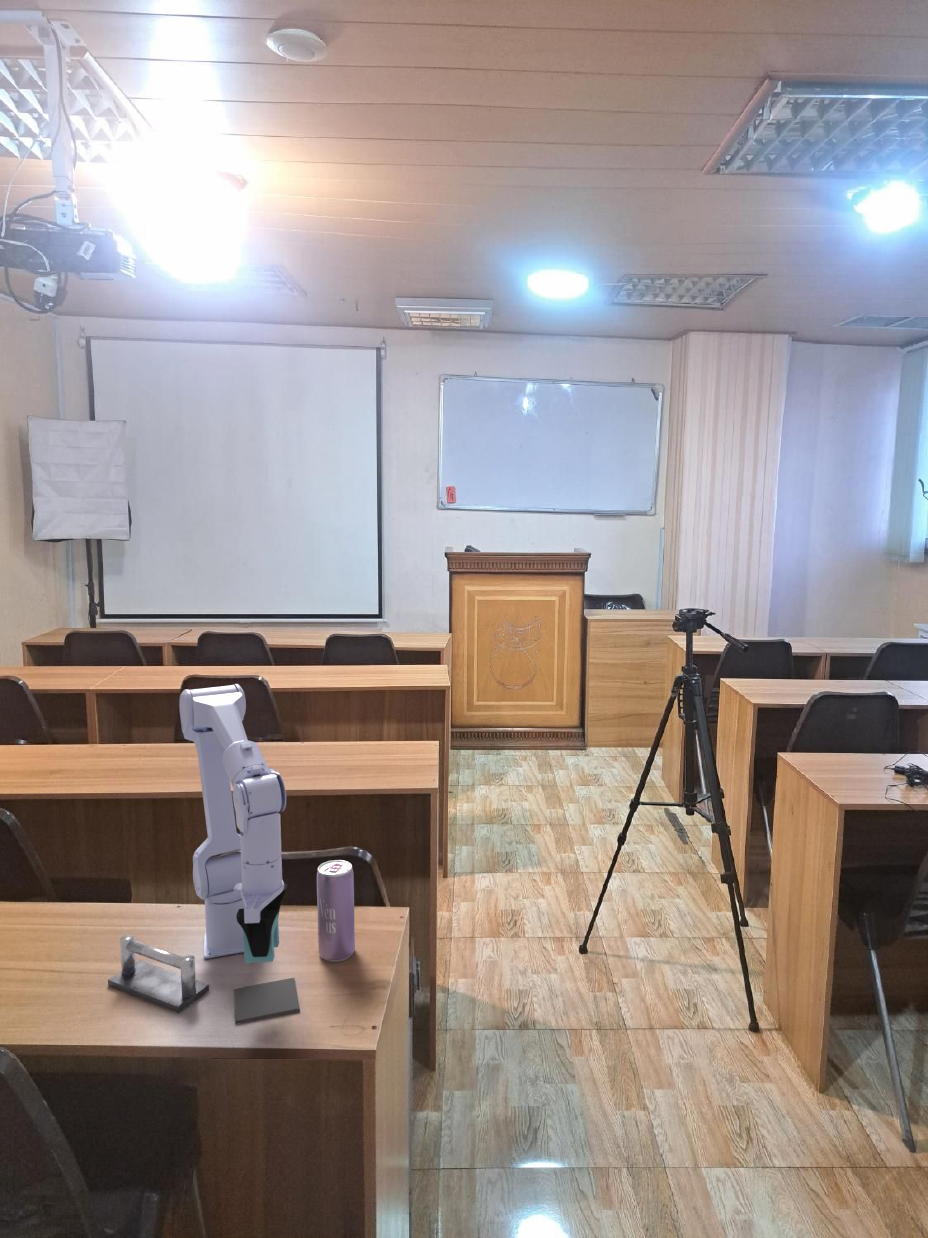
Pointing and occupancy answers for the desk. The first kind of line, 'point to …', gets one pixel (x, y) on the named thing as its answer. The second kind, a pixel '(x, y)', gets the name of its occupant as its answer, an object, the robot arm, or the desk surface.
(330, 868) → the beverage can
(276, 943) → the teal block
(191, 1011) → the desk surface
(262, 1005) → the mat
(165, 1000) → the stand
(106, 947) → the desk surface
